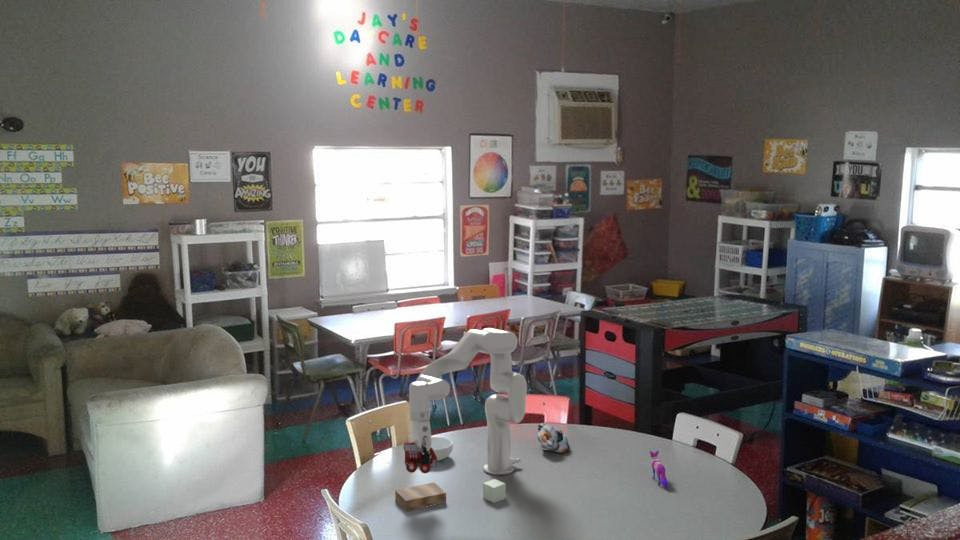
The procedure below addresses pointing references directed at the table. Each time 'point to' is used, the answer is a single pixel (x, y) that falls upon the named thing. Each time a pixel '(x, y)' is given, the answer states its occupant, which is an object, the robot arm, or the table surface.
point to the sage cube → (494, 490)
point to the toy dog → (658, 468)
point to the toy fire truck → (418, 458)
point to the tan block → (420, 496)
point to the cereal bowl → (441, 447)
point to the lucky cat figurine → (552, 439)
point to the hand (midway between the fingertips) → (420, 459)
